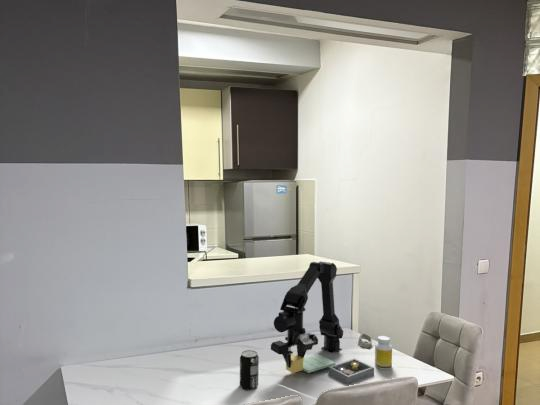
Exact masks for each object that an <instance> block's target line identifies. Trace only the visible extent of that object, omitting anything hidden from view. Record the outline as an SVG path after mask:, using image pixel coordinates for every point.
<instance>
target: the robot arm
mask: <svg viewBox="0 0 540 405" xmlns="http://www.w3.org/2000/svg"><path fill="white" fill-rule="evenodd" d="M308 265H309V267H308V268H307V270H306V271H305V273H304V274H303V275H302V277H301V278H300V280H299V281H298V283H297V284H296V285H294V286H292V287H291V288H289V290H288V291H287V292H285V293H286V294H285V295H284V298H283V300H282V302H281V303H282V304H281V306H280V308H279V310H280V312H278V315H277V316H276V317H275V318H274V320H273V326H274V329H275V330H276V331H277V332H278V333H285V332H286V331H287V332H286V333H287V336H285V337H284V338H285V341H286V342H284V341H282V340H276V341H273V342H271V343H270V350H271V351H273V352H274V353H276V354H278V355H282V357H283V359H284V361H285V365H286V364H287V366H288V367H289V368H290V366H291V356H292V354H293V353H294V351H292V349H291V348H292V347H296V351H297V352H296V353H297V354H296V355H298V356H300V357H302V358H305V355H306V352H307V351H311V350H313V347H314V346H316V345H318V343H319V339H318V337H317V335H316V334H315V333H310V332H307V333H306V328H305V327H304V312H306V308H305V306H306V304H307V301H308V299H309V295H308V293H309V292H310V290H311V289H312V287H313V285H314V284H315V282H316V281H317V279H318V281H319V282H320V285H321V302H322V314H323V315H322V317H320V320H319V321H318V323H319V324H318V326H319V333H320V336H324V337H323V346H322V347H321V350H323V351H325V352H329V353H331V354H332V353H336V352H339V351H343V350H342V348H340V347H341V346H340V345H341V344H340V343H341V342H340V339H342V338H343V336H344V330H343V328H342V327H341V324H340V319H339V318H338V316H337V314H336V313H335V298H334V297H335V295H334V280H335V279H336V277H337V271H338V270H337V269H338V268H337V266H336V264H335V263H333V262H327V261H311V262H310V263H309V264H308Z"/></svg>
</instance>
